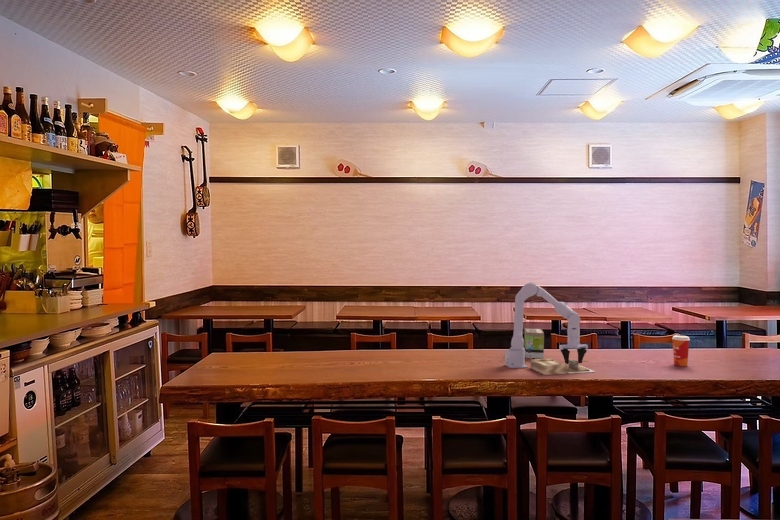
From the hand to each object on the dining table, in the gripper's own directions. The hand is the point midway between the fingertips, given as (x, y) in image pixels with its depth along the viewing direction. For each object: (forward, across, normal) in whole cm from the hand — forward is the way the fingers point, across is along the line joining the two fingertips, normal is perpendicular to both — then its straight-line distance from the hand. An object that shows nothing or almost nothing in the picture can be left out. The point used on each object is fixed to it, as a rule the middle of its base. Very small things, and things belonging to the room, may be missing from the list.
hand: (573, 363), depth 251 cm
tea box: (+3, -4, +34) cm, 34 cm away
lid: (+3, 0, 0) cm, 3 cm away
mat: (+3, 0, 0) cm, 3 cm away
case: (+3, -14, 0) cm, 14 cm away
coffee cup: (+3, +60, -1) cm, 61 cm away
